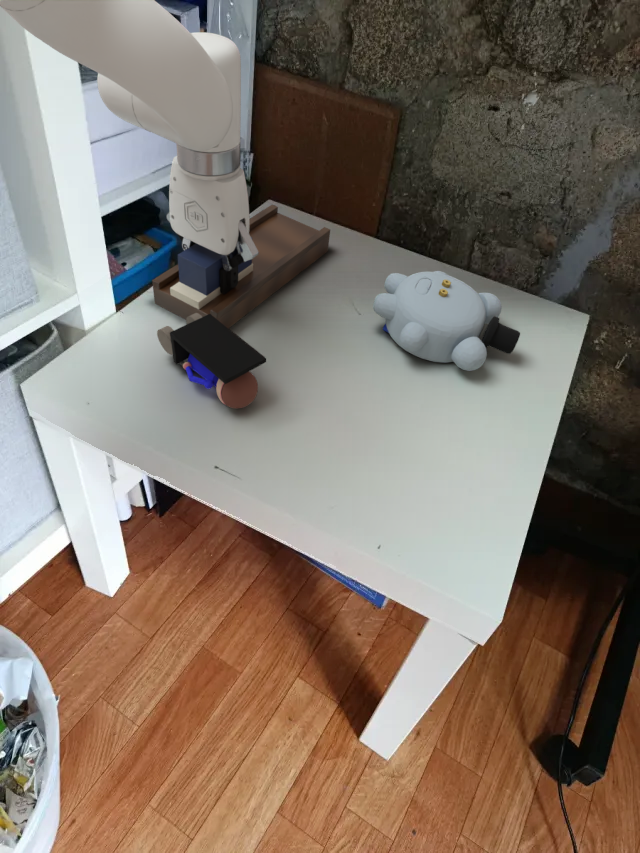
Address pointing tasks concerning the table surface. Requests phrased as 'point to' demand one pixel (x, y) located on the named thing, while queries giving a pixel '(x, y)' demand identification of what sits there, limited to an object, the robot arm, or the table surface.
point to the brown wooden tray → (255, 268)
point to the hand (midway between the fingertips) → (212, 280)
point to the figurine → (443, 319)
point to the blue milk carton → (202, 275)
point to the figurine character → (214, 358)
